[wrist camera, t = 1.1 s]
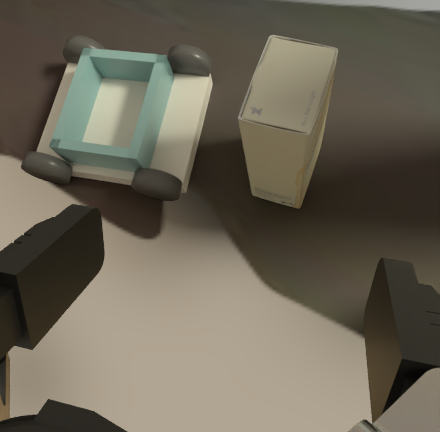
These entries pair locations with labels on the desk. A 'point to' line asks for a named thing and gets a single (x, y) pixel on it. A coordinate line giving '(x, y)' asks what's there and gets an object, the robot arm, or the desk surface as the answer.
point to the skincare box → (286, 117)
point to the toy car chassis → (125, 118)
